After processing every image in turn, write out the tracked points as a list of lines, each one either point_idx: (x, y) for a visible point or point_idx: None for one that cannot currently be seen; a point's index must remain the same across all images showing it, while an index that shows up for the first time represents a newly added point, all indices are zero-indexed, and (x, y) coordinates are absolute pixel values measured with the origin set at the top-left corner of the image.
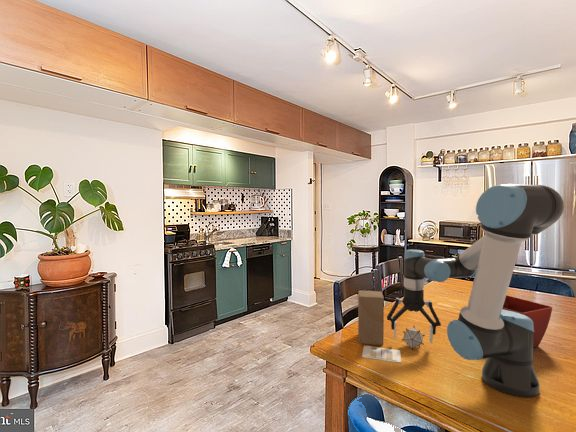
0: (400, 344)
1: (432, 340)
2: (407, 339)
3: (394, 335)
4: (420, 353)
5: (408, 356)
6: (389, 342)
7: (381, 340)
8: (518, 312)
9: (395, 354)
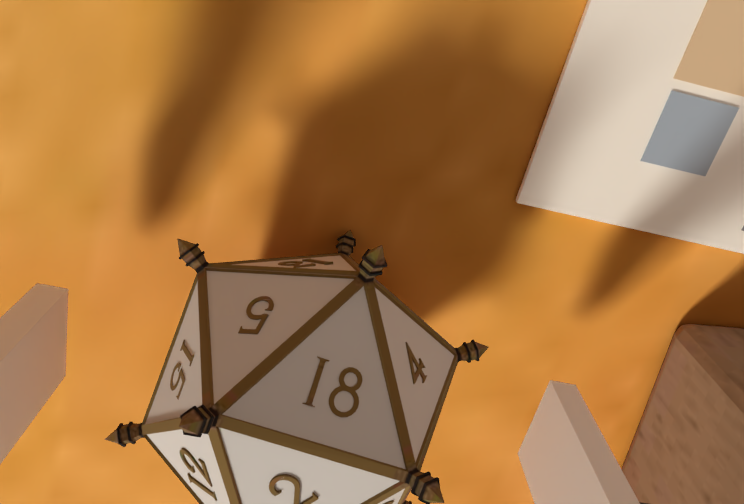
0: None
1: (11, 307)
2: (419, 321)
3: (589, 413)
4: (262, 153)
5: (460, 44)
6: None
7: (737, 358)
8: None
9: (636, 71)
